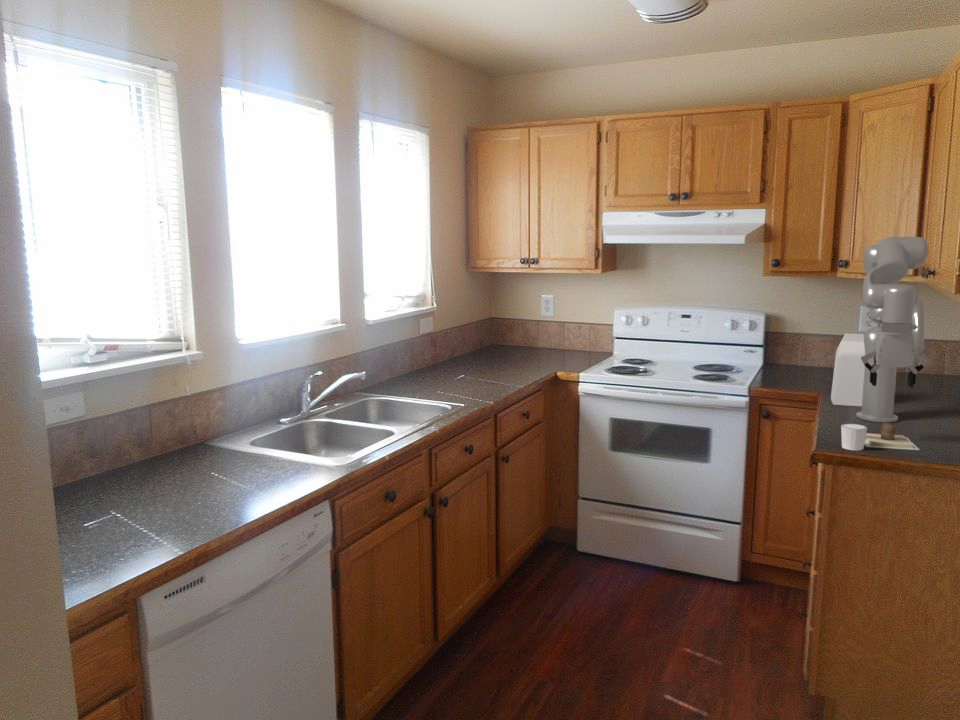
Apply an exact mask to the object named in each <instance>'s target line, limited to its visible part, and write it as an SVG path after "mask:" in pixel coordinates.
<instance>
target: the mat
mask: <svg viewBox="0 0 960 720" xmlns="http://www.w3.org/2000/svg"><path fill="white" fill-rule="evenodd" d="M905 437H906V438H907V439H908V440H909V441H910V442H911V443H912V444H913V448H900V447H884V446H871V445H870V444H869V443H868V442H867V440H866V439H865V443H864V447H865V448H877V449H880V448H881V449H893V450H894V449H895V450H908V451H909V450H910V451H911V450H912V451H921V449H920V448H919V447H917V445H915V444H914V442H912V441H911V439H909V438H908V437H907V436H905Z"/></svg>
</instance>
